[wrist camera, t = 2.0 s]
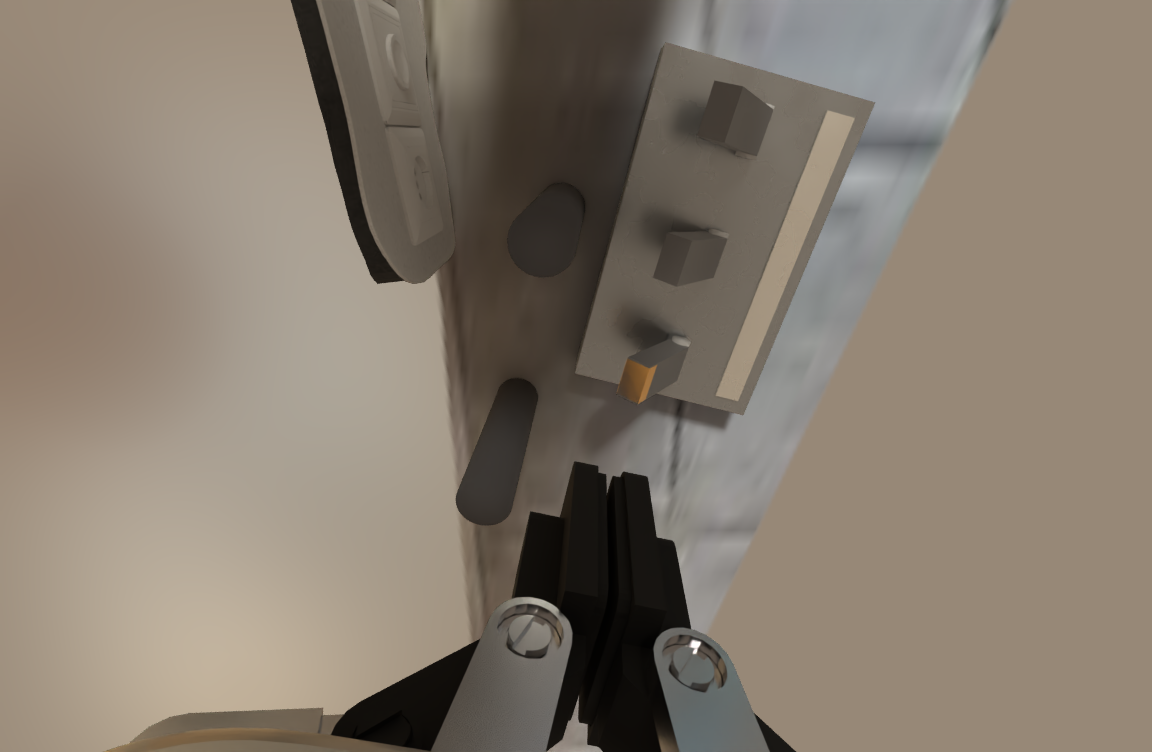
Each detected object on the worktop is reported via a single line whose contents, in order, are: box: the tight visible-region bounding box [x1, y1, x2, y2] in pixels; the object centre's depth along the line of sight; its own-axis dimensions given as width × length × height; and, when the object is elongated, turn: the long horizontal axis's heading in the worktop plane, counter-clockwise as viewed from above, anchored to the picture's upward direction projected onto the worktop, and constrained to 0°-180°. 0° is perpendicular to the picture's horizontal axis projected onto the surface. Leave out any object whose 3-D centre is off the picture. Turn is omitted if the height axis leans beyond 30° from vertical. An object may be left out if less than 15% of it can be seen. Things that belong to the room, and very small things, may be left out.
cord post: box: [456, 378, 538, 525], centre depth 35 cm, size 3×3×13 cm
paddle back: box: [616, 336, 691, 405], centre depth 34 cm, size 3×1×7 cm, turn 166°
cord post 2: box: [507, 183, 585, 277], centre depth 30 cm, size 3×3×13 cm
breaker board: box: [575, 42, 875, 415], centre depth 35 cm, size 20×12×3 cm, turn 166°
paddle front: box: [697, 80, 775, 160], centre depth 28 cm, size 3×1×7 cm, turn 166°
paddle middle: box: [653, 228, 729, 287], centre depth 31 cm, size 3×1×7 cm, turn 166°
